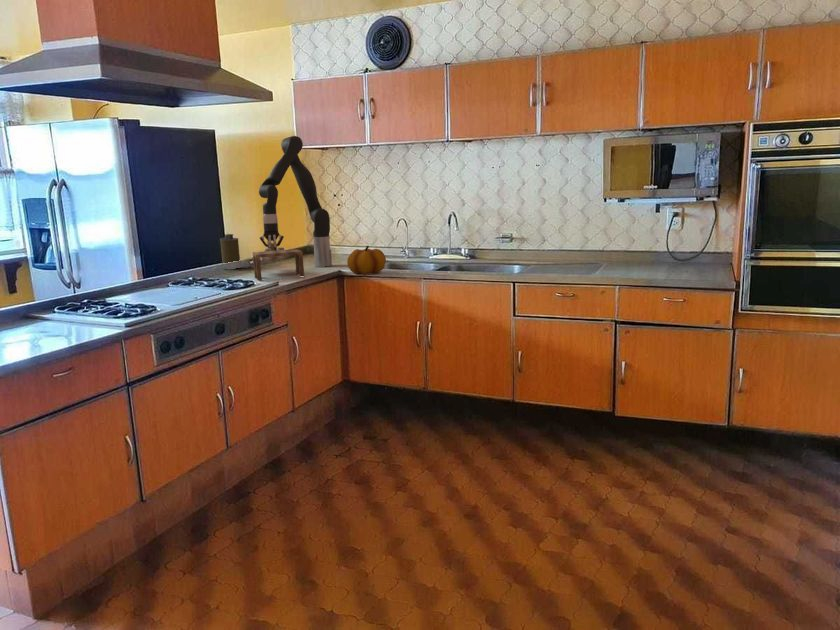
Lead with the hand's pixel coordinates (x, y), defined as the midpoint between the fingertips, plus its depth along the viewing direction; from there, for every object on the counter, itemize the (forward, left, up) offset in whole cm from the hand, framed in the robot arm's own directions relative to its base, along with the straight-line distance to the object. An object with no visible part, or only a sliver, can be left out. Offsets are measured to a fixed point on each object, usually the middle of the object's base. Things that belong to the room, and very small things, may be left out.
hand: (272, 254), depth 361 cm
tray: (0, -3, -2) cm, 4 cm away
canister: (+20, -32, -11) cm, 39 cm away
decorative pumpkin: (-45, +28, -11) cm, 54 cm away
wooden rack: (0, +17, -11) cm, 20 cm away
